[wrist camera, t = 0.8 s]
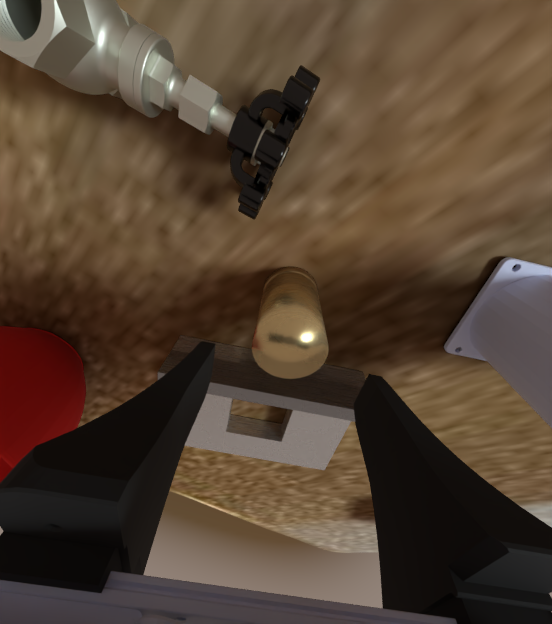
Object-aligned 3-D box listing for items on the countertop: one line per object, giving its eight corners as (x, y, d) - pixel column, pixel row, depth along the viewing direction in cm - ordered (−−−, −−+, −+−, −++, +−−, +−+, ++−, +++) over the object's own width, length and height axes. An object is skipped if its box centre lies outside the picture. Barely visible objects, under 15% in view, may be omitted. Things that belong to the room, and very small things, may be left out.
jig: (362, 371, 24) (377, 414, 20) (322, 451, 30) (327, 496, 26) (180, 335, 23) (157, 372, 19) (176, 425, 29) (158, 468, 25)
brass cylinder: (324, 273, 19) (339, 326, 13) (309, 320, 21) (316, 385, 15) (269, 261, 19) (258, 309, 13) (258, 309, 21) (245, 371, 15)
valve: (69, 103, 15) (260, 209, 17) (-65, 70, 9) (245, 235, 12) (85, -61, 12) (314, 94, 14) (-99, -258, 6) (330, 53, 9)
